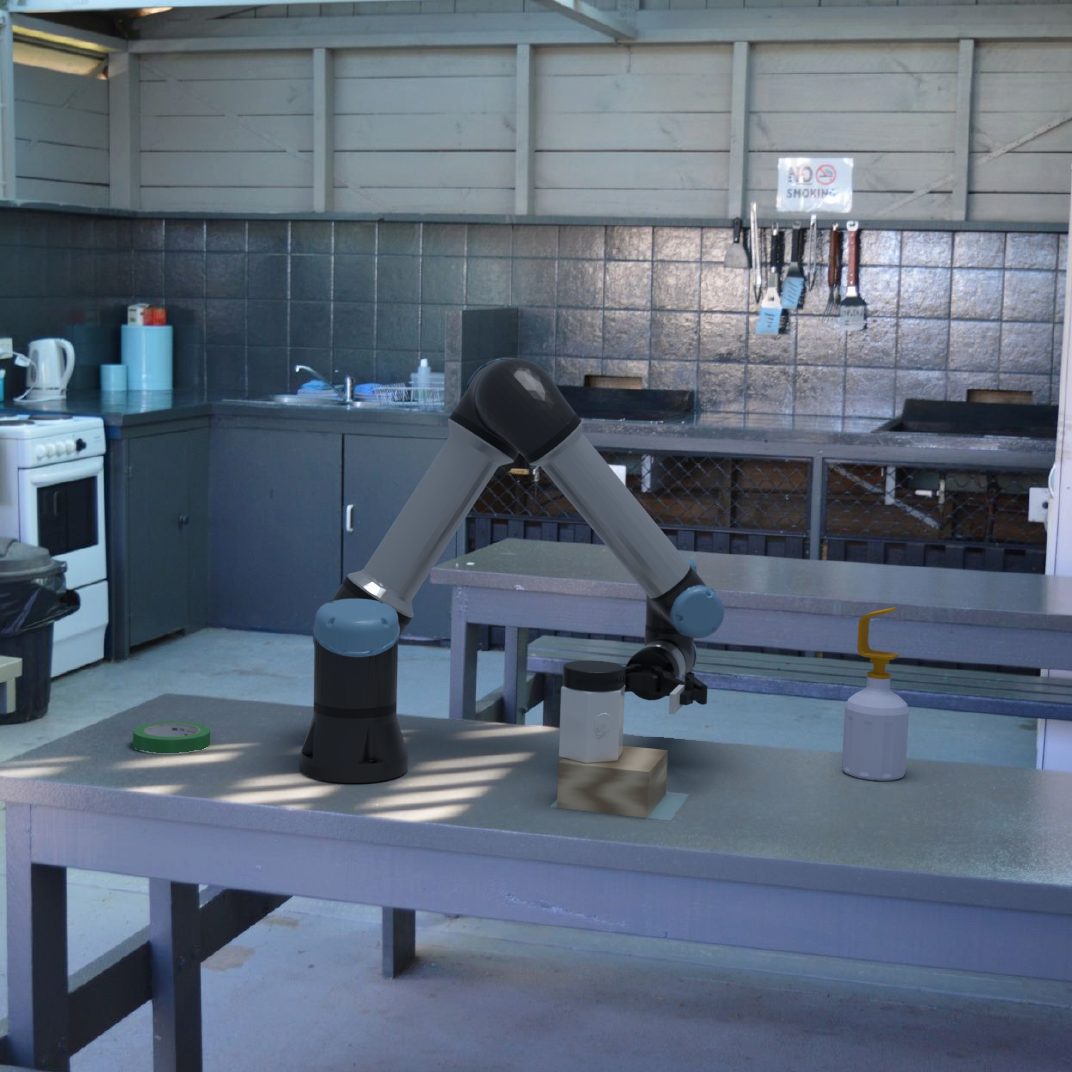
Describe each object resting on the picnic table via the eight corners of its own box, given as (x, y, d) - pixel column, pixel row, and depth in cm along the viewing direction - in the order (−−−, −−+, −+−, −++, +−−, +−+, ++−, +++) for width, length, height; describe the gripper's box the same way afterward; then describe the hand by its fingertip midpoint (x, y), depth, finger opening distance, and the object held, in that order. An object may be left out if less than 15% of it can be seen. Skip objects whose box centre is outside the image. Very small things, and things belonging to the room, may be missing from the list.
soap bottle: (895, 785, 210) (905, 614, 208) (833, 775, 215) (842, 607, 212) (912, 771, 218) (922, 606, 216) (852, 762, 223) (861, 600, 220)
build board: (549, 809, 193) (549, 806, 193) (575, 784, 205) (575, 781, 205) (670, 823, 189) (670, 820, 188) (689, 797, 201) (689, 794, 201)
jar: (569, 765, 191) (572, 673, 190) (548, 749, 198) (551, 661, 197) (633, 761, 194) (637, 671, 192) (610, 746, 201) (614, 659, 200)
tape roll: (225, 744, 222) (225, 726, 222) (177, 760, 212) (178, 742, 212) (166, 734, 227) (166, 717, 226) (117, 750, 217) (117, 732, 216)
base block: (557, 807, 193) (558, 762, 192) (580, 784, 204) (581, 741, 203) (647, 818, 189) (649, 772, 189) (665, 793, 201) (667, 750, 200)
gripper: (738, 703, 216) (713, 736, 196) (572, 688, 223) (532, 718, 203) (740, 652, 215) (715, 680, 195) (574, 639, 222) (534, 663, 202)
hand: (622, 699), depth 199 cm, fingers open, 13 cm apart
